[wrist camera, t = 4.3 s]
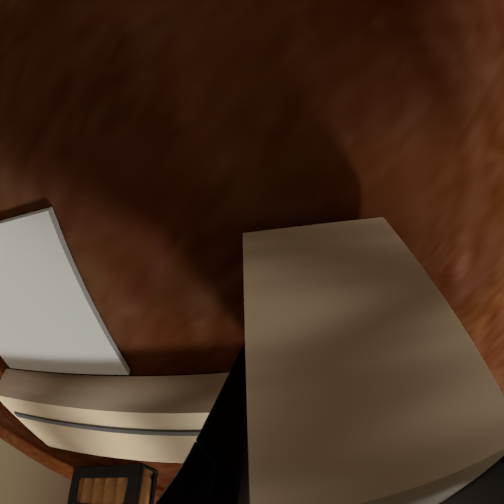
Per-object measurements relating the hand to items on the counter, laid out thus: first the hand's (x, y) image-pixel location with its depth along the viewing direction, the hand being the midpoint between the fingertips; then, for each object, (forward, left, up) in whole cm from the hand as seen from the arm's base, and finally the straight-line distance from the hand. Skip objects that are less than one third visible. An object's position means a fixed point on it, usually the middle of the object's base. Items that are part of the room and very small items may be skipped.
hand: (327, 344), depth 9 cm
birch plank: (+6, +7, -2) cm, 10 cm away
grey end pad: (+12, -1, -2) cm, 12 cm away
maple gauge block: (0, 0, -2) cm, 2 cm away
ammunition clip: (+17, +19, -3) cm, 26 cm away
